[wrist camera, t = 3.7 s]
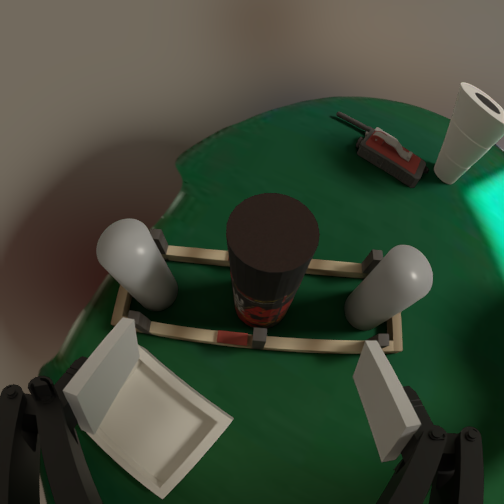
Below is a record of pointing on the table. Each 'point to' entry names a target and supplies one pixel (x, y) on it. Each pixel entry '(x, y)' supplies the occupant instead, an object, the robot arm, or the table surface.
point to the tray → (159, 426)
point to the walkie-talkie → (388, 154)
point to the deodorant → (269, 255)
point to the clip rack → (259, 338)
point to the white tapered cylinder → (469, 133)
